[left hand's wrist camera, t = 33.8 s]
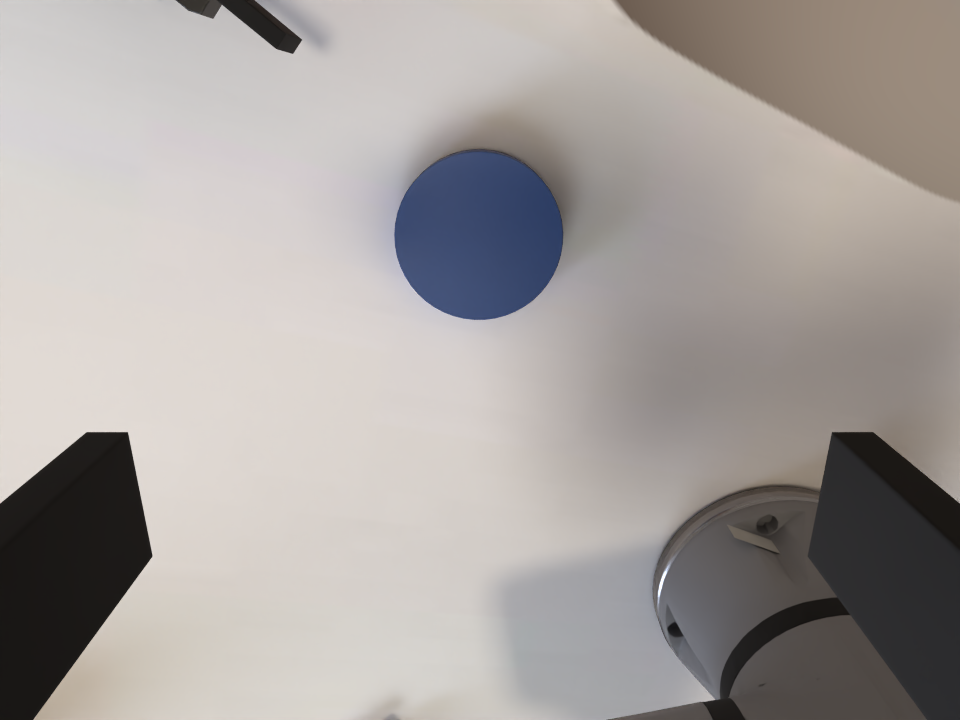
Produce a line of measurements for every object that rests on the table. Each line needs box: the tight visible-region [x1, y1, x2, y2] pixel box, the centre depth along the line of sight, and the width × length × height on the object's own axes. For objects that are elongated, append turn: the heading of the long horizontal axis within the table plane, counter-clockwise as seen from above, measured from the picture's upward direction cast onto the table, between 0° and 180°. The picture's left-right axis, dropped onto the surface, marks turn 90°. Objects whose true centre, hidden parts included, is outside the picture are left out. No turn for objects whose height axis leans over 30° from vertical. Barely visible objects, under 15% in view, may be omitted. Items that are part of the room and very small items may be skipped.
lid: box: [395, 149, 563, 320], centre depth 38 cm, size 9×9×2 cm
